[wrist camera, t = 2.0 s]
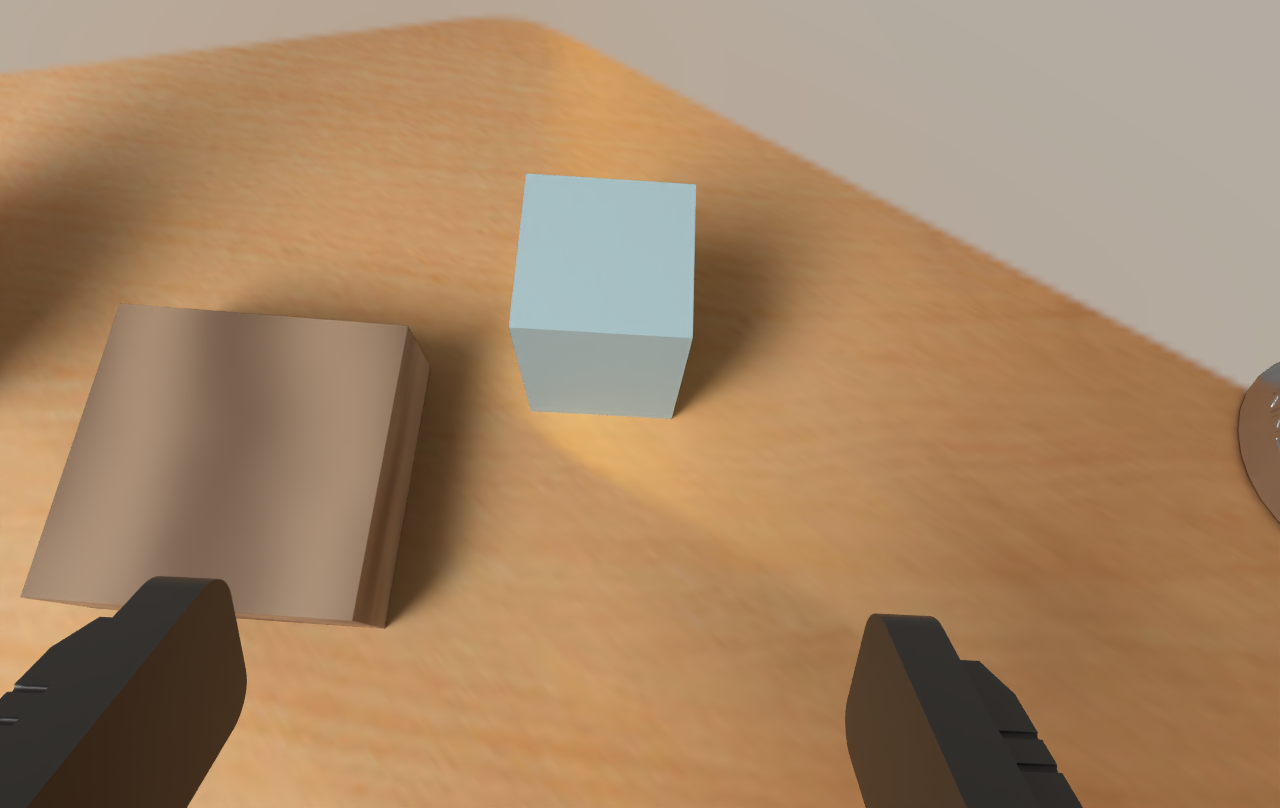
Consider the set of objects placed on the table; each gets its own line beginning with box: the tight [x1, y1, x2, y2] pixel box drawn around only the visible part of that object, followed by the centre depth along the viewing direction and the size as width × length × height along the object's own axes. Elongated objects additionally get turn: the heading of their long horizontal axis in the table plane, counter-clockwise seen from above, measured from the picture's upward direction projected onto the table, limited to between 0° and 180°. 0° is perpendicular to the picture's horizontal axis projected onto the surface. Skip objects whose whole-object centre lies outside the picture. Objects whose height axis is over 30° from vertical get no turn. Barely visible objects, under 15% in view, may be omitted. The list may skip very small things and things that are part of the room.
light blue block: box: [509, 174, 696, 419], centre depth 27 cm, size 6×6×8 cm
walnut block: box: [21, 303, 430, 629], centre depth 27 cm, size 10×10×4 cm
